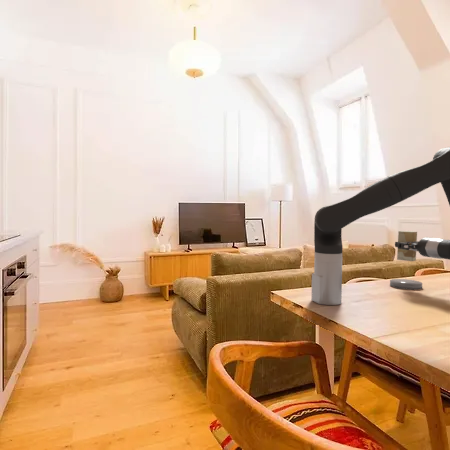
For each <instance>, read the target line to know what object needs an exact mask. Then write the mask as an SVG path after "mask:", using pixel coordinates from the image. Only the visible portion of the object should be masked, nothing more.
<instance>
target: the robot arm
mask: <svg viewBox="0 0 450 450" xmlns="http://www.w3.org/2000/svg"><path fill="white" fill-rule="evenodd" d="M438 184H441V187H442V189H443V191H444V194H445V196H446V199H447V201H448V205H449V206H450V146H447V147H444V148H443V147H442V148H440V149H438V151H436V152H435V154H434V155H433V157H432V160H430V161H428V162H426V163H424V164H422V165H419V166H418V165H417V166H416V167H412V168H408V169H405V170H402V171H398V172H396V173H393V174H391V175H388V176H386V177H384V178H382V179H380V180H378V181H376V182H374V183H372V184H371V185H369V186H367V187H365V188H364V189H362V190H361V191H359V192H358V193H356V194H354V196H351V197H349V198H346V199H345V200H344V199H343V200H342V201H339V202H337V203H334V204H330V205H325V206H323V207H320V208H319V209H318V210H317V211H316V212H315V215H314V224H313V225H314V227H313V229H314V231H313V232H314V235H313V236H314V237H313V242H314V259H313V260H314V263H313V264H314V267H313V269H314V272H313V273H311V301H313V302H314V303H316V304H318V305H324V306H325V305H326V306H337V305H341V304H342V301H343V300H342V298H343V296H342V295H343V294H342V293H343V291H342V290H343V289H342V288H343V249H344V247H343V241H342V232H343V231H342V229H344V228H345V227H347V226H349V225H350V224H351V223H354V222H355V221H357V220H359V219H361V218H363V217H365V216H369V215H372V214H375V213H377V212H380V211H382V210H386V209H388V208H390V207H392V206H394V205H397V204H398V203H401V202H403V201H405V200H407V199H409V198H411V197H413V196H416V195H418V194H419V193H421V192H423V191H425V190H427V189H428V188H431V187H433V186H435V185H438ZM409 243H411V245H409ZM394 247H395V248H397V250H398V249H405V250H414V251H416V252H418V253H419V255H420V256H422V257H426V258H431V259H432V258H434V259H440V260H441V259H443V260H444V259H445V260H450V239H445V238H439V237H428V236H426V237H422V238H420V240H419V241H418V240H417V241H414V242H410V241H408V242H398V241H395V242H394ZM410 248H412V249H410Z"/></svg>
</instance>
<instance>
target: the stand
mask: <svg viewBox="0 0 450 450" xmlns="http://www.w3.org/2000/svg"><path fill="white" fill-rule="evenodd" d="M389 286H390V287H393V288H395V289H400V290H409V291H413V290H414V291H415V290H422V289H423V282H421V281H419V280H414V279H406V278H405V279H404V278H392V279H389Z"/></svg>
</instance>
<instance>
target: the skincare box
mask: <svg viewBox="0 0 450 450" xmlns="http://www.w3.org/2000/svg"><path fill="white" fill-rule="evenodd" d="M408 241H410V242H414V241H418V231H413V230H412V231H411V230H410V231H409V230H398V235H397V242H408ZM409 245H411V243H409ZM410 249H412V248H410ZM396 255H397V257H396V258H397V259H396V260H397V261H406V262H408V261H409V262H414V261H416V259H417V251H414V250H405V249H398V248H397V254H396Z"/></svg>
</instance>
